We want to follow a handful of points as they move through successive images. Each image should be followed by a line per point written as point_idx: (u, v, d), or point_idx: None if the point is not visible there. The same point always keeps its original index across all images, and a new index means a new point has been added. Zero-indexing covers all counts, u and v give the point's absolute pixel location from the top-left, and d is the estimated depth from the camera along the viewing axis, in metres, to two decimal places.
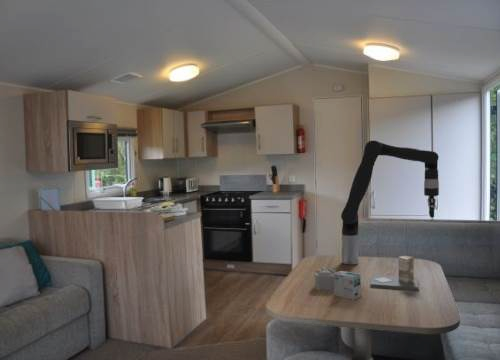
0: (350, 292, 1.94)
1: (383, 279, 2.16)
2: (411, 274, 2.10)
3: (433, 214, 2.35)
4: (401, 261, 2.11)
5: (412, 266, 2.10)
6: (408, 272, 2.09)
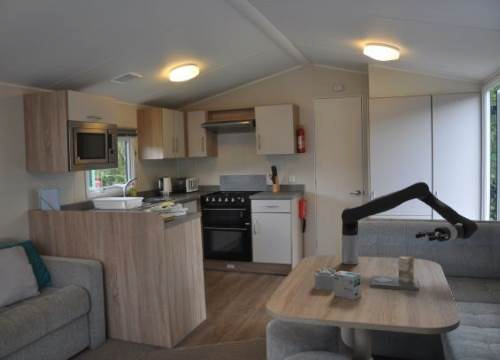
0: (350, 292, 1.94)
1: (383, 279, 2.16)
2: (411, 274, 2.10)
3: (431, 240, 2.12)
4: (401, 261, 2.11)
5: (412, 266, 2.10)
6: (408, 272, 2.09)
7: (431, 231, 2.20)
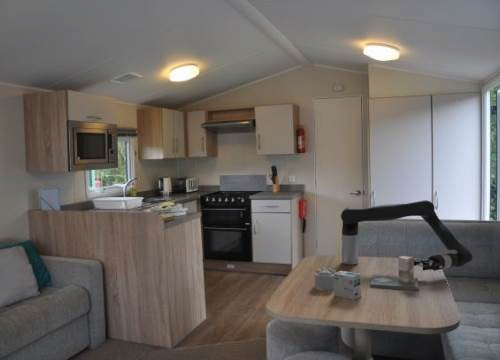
0: (350, 292, 1.94)
1: (383, 279, 2.16)
2: (411, 274, 2.10)
3: None
4: (401, 261, 2.11)
5: (412, 266, 2.10)
6: (408, 272, 2.09)
7: (425, 259, 2.19)
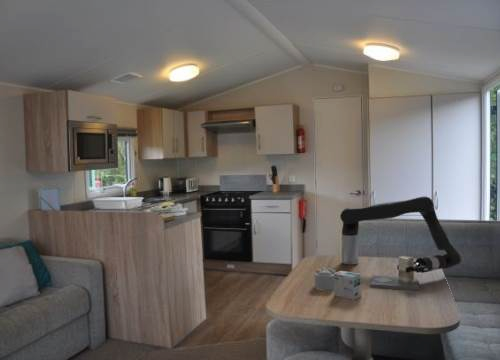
0: (350, 292, 1.94)
1: (383, 279, 2.16)
2: (411, 274, 2.10)
3: None
4: (401, 261, 2.11)
5: (412, 266, 2.10)
6: (408, 272, 2.09)
7: None
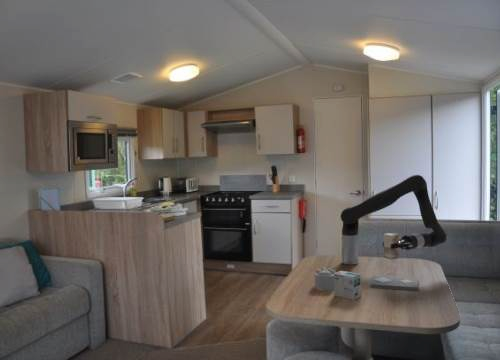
0: (350, 292, 1.94)
1: (383, 279, 2.16)
2: (396, 251, 2.12)
3: None
4: (386, 238, 2.12)
5: None
6: None
7: None
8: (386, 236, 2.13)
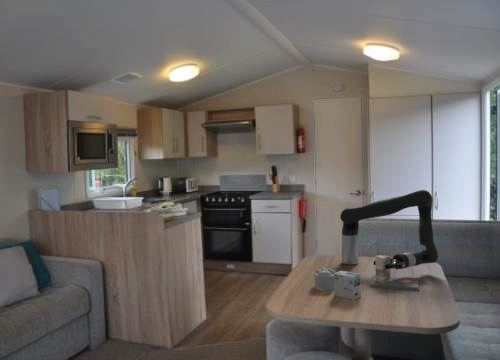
0: (350, 292, 1.94)
1: None
2: (388, 273, 2.14)
3: None
4: (378, 260, 2.15)
5: None
6: (384, 270, 2.13)
7: None
8: (377, 258, 2.15)
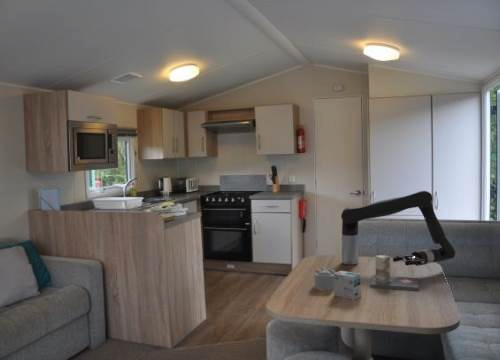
0: (350, 292, 1.94)
1: None
2: (388, 273, 2.14)
3: (408, 264, 2.17)
4: (378, 260, 2.15)
5: (389, 265, 2.14)
6: (384, 270, 2.13)
7: (408, 255, 2.24)
8: (377, 258, 2.15)
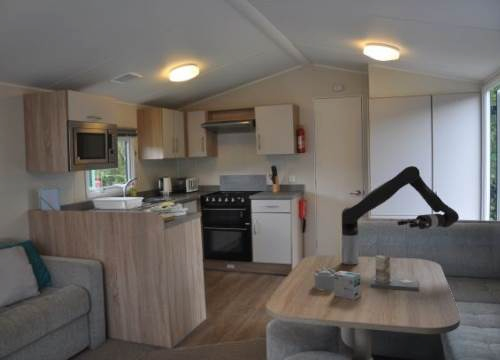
0: (350, 292, 1.94)
1: None
2: (388, 273, 2.14)
3: None
4: (378, 260, 2.15)
5: (389, 265, 2.14)
6: (384, 270, 2.13)
7: (413, 219, 2.27)
8: (377, 258, 2.15)
